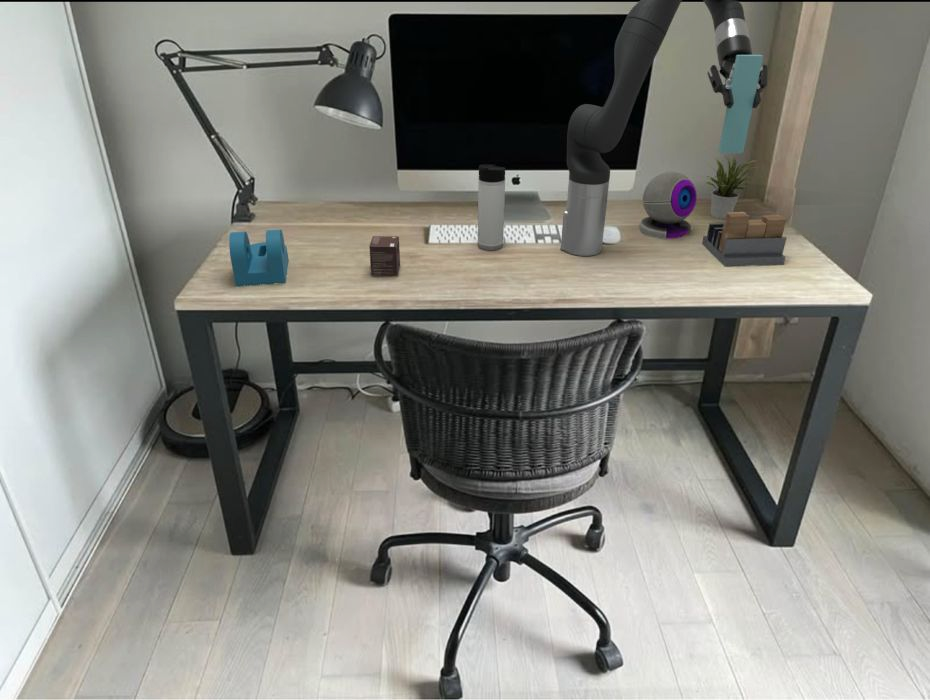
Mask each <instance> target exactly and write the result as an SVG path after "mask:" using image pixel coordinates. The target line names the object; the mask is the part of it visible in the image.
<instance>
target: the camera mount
mask: <svg viewBox="0 0 930 700" xmlns="http://www.w3.org/2000/svg"><path fill="white" fill-rule="evenodd" d="M228 244H229V247H228V248H229V258H230V263H231V267H232V268H231V269H232V274H233V278H234V283H235V284H234V285H235V287H236V286H237V287H248V286H249V285H252V286H263V285H262V284H267V285H275V284H274V283H281V284H286V283H287V277H286V276H287V275H288V269H287V268H288V267H289V252H288V248H287V246H286V245H285V239H284V233H283V230H282V229H268V230H266V231H265V241H261V242H256V243H255V242H254V243H252V244H251V243H250V238H249V236H248V233H247V231H233V232H232V231H231V232H230V233H229V237H228ZM260 284H261V285H260ZM244 285H245V286H244ZM247 285H248V286H247ZM249 287H250V286H249Z"/></svg>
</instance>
